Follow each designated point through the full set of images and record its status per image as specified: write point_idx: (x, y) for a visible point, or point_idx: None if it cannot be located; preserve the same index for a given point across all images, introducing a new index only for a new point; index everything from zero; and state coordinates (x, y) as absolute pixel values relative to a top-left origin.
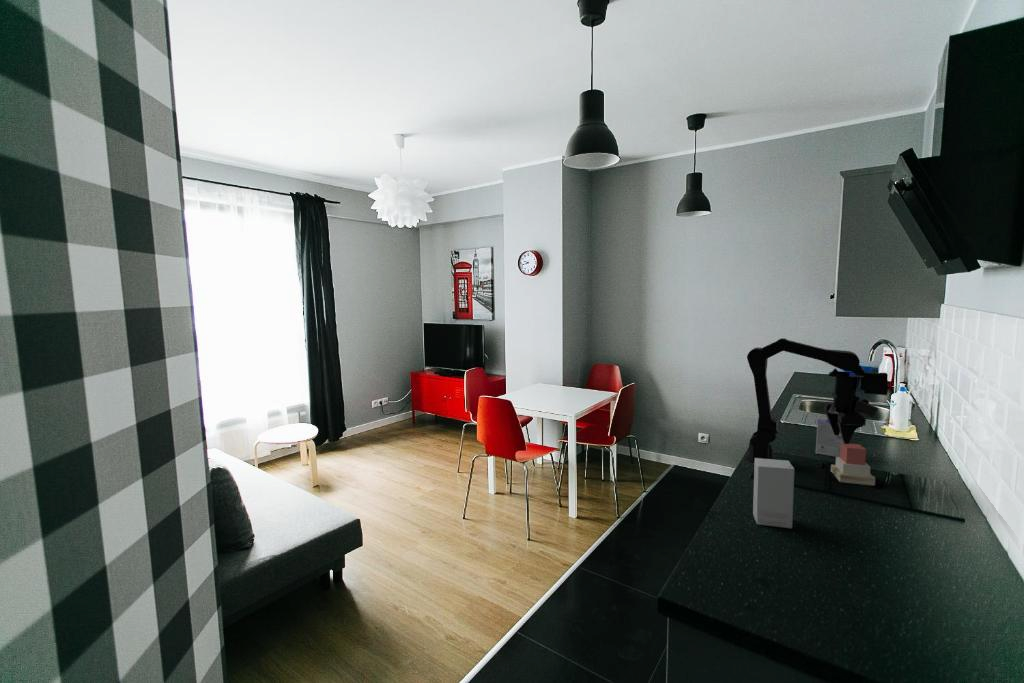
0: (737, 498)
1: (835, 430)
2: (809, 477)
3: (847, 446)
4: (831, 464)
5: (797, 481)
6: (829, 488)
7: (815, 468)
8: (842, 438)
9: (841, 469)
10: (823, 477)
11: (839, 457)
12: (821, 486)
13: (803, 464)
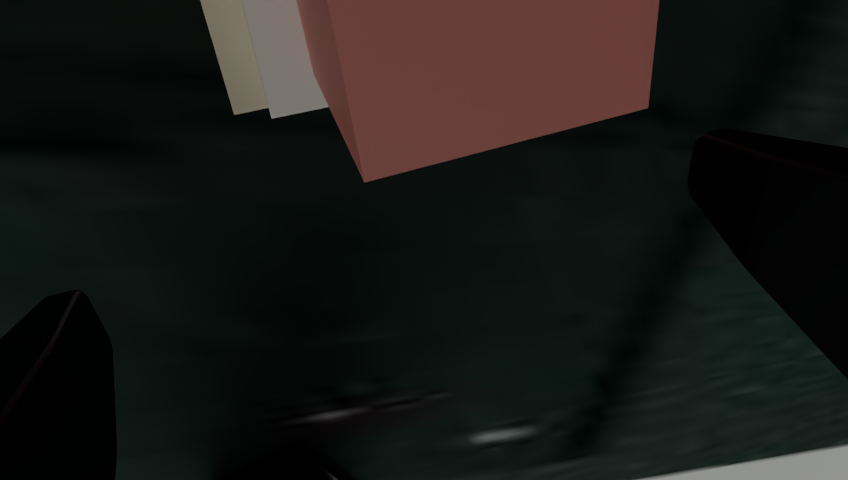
0: (820, 425)
1: (96, 432)
2: (484, 234)
3: (564, 96)
4: (235, 112)
5: (587, 287)
6: (669, 116)
7: (211, 206)
8: (751, 269)
9: None
10: None
11: (280, 79)
12: (642, 162)
13: (147, 294)
